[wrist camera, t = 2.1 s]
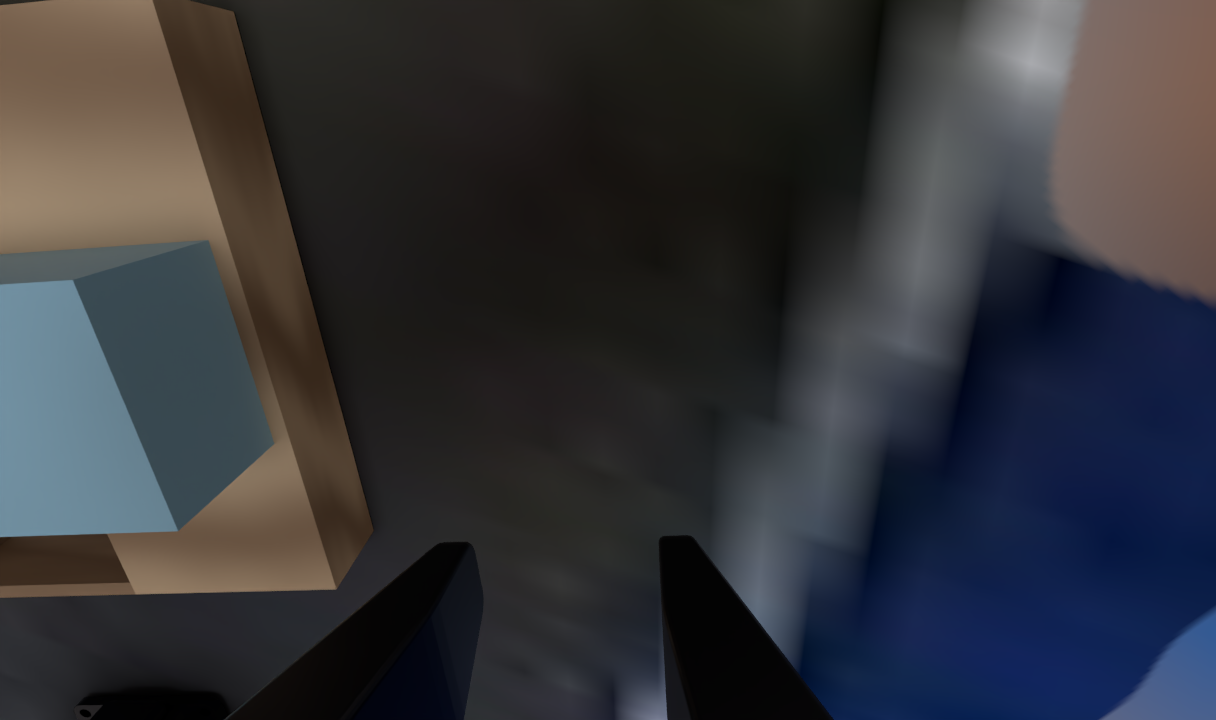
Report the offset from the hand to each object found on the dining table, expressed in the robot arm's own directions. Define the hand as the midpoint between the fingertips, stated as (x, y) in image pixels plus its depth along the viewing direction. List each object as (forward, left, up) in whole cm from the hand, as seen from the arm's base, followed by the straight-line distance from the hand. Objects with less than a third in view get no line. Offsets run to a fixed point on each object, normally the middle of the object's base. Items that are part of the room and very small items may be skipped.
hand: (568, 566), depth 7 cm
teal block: (0, +13, -9) cm, 16 cm away
